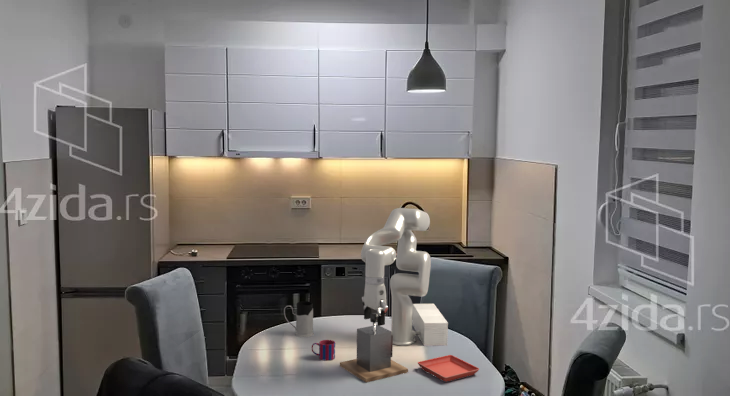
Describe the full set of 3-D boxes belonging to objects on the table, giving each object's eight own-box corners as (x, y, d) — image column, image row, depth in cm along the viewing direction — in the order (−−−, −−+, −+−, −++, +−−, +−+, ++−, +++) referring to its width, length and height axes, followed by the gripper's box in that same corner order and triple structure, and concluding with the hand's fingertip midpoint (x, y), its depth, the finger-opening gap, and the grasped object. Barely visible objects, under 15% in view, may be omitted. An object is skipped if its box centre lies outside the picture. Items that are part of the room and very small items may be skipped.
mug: (333, 361, 262) (333, 345, 261) (310, 359, 263) (310, 343, 263) (336, 355, 268) (336, 340, 268) (313, 354, 270) (313, 338, 269)
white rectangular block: (447, 346, 283) (447, 322, 282) (424, 346, 282) (424, 323, 281) (433, 324, 315) (433, 303, 314) (412, 324, 314) (412, 303, 313)
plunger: (376, 359, 259) (377, 310, 256) (387, 365, 252) (388, 315, 250) (359, 363, 254) (360, 313, 252) (370, 369, 248) (371, 318, 246)
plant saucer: (480, 376, 248) (480, 368, 248) (445, 385, 239) (445, 377, 239) (450, 361, 264) (450, 354, 263) (416, 370, 254) (416, 362, 254)
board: (380, 357, 267) (380, 353, 267) (408, 372, 250) (408, 368, 250) (339, 366, 256) (339, 362, 256) (366, 382, 240) (366, 378, 239)
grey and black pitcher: (312, 337, 292) (313, 306, 290) (282, 336, 292) (282, 305, 290) (314, 331, 300) (314, 301, 299) (285, 331, 301) (285, 300, 299)
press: (383, 358, 262) (384, 323, 260) (397, 365, 254) (398, 330, 252) (356, 364, 255) (356, 328, 253) (369, 372, 246) (370, 335, 245)
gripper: (395, 283, 244) (394, 326, 246) (370, 274, 259) (370, 315, 261) (379, 286, 240) (378, 329, 242) (355, 276, 255) (355, 317, 257)
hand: (374, 321), depth 251 cm, fingers open, 9 cm apart
